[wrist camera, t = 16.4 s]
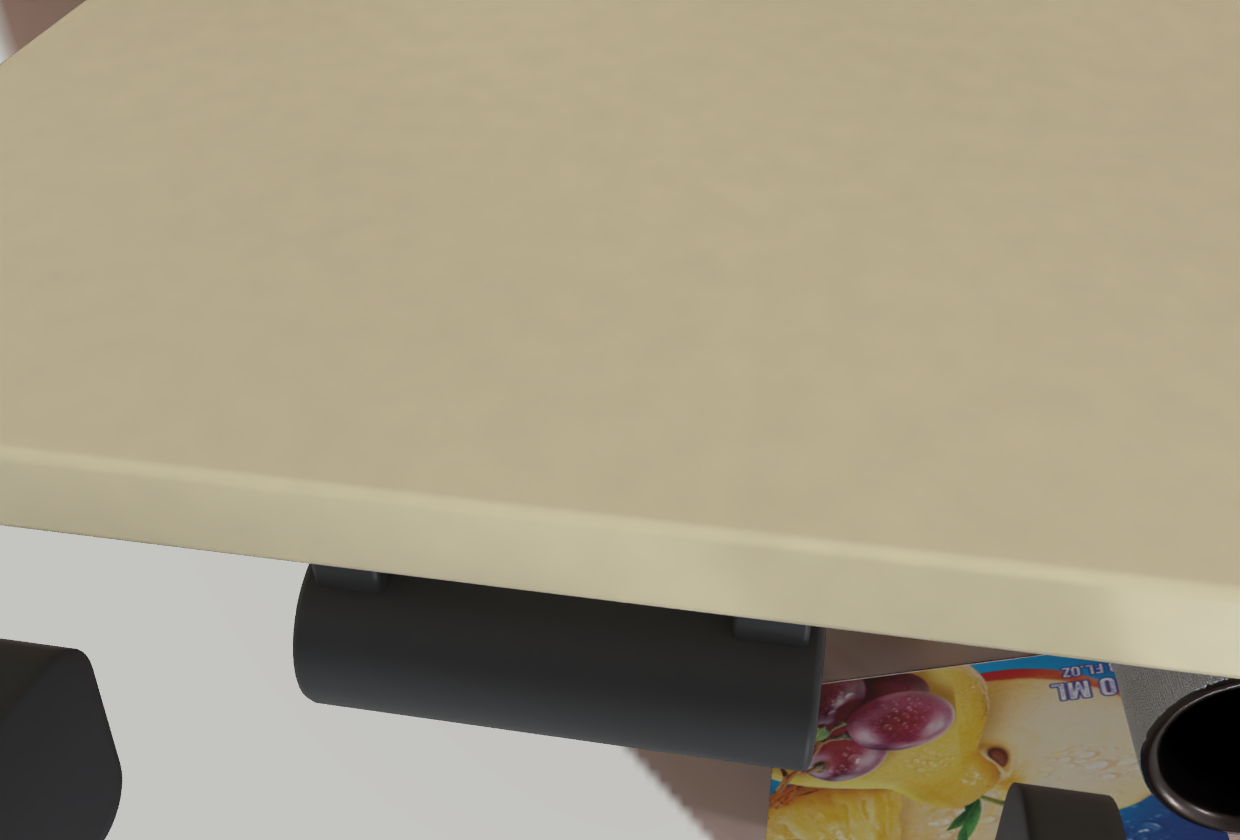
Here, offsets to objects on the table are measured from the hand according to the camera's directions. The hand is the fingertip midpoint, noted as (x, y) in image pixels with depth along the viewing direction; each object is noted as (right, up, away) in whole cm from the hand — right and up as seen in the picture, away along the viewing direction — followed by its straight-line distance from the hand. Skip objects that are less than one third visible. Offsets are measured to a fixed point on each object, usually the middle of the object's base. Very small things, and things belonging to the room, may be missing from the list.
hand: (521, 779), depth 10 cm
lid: (+1, +8, +3) cm, 9 cm away
